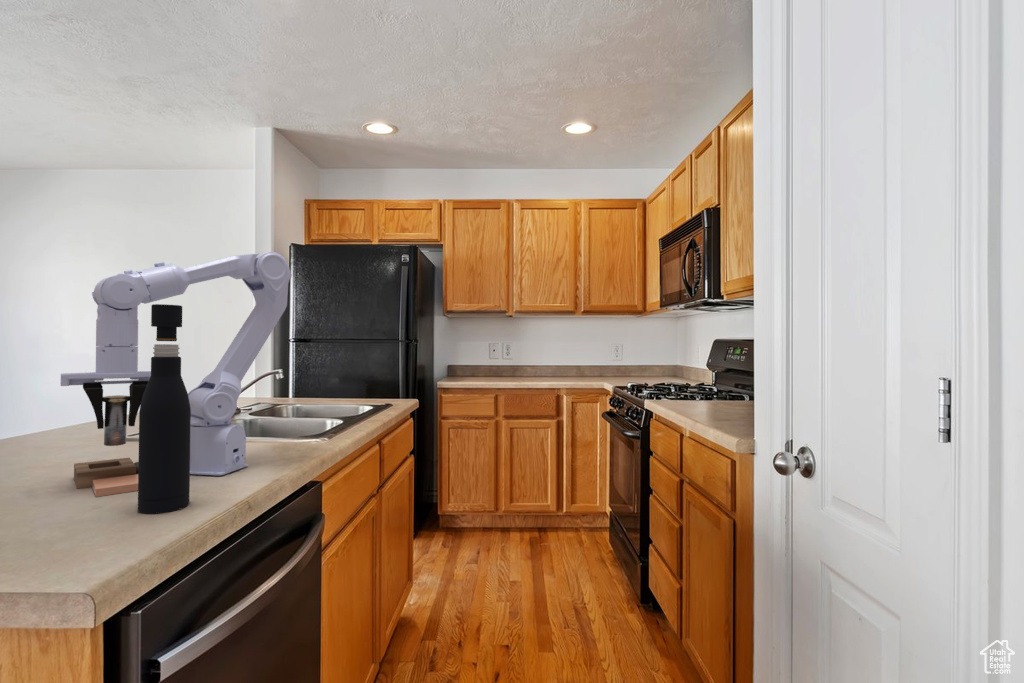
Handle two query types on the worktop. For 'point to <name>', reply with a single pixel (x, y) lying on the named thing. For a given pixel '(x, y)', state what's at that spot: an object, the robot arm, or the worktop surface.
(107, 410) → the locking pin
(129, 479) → the tile pad
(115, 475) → the clamp block
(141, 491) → the black water bottle
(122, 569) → the worktop surface
